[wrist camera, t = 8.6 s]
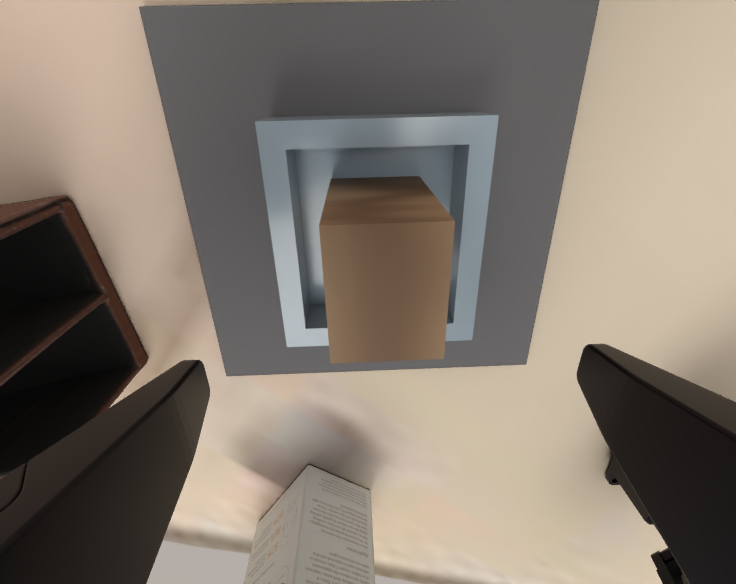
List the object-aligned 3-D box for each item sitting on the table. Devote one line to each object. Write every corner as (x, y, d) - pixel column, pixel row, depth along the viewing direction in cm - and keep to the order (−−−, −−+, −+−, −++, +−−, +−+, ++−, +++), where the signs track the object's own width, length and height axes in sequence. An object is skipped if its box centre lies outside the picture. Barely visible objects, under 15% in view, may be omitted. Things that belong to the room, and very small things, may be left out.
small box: (317, 544, 32) (302, 732, 23) (255, 521, 30) (211, 713, 21) (373, 489, 29) (383, 678, 20) (308, 461, 27) (285, 652, 18)
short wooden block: (419, 175, 18) (454, 221, 11) (415, 275, 20) (443, 358, 14) (331, 178, 18) (319, 225, 11) (337, 278, 20) (330, 363, 14)
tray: (476, 111, 17) (498, 115, 14) (457, 309, 22) (472, 340, 19) (270, 117, 17) (254, 121, 14) (295, 315, 22) (287, 347, 19)
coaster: (594, -1, 16) (600, -4, 15) (523, 360, 24) (526, 364, 24) (143, 8, 15) (138, 6, 15) (228, 372, 24) (226, 376, 23)
